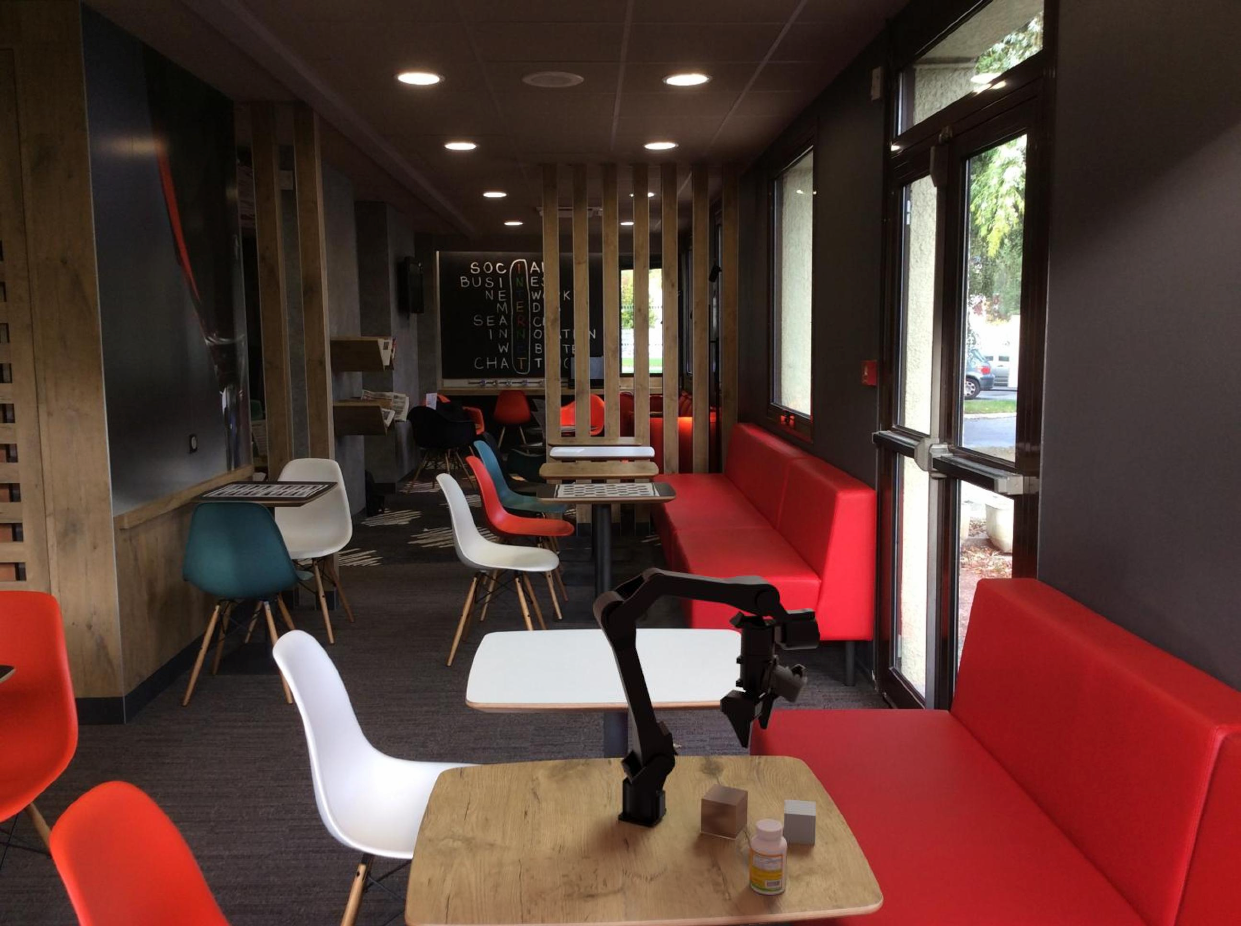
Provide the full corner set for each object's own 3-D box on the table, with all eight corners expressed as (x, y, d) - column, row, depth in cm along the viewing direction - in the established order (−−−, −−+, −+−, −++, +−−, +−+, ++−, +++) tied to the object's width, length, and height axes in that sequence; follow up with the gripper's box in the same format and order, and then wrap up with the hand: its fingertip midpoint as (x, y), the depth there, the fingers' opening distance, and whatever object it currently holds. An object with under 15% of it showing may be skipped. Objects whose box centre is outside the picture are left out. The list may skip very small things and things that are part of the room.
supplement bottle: (761, 872, 159) (763, 812, 158) (792, 884, 156) (794, 823, 154) (742, 887, 155) (744, 825, 154) (774, 899, 152) (775, 837, 150)
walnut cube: (700, 832, 172) (701, 798, 171) (713, 817, 177) (714, 783, 176) (735, 840, 169) (735, 805, 168) (747, 824, 174) (747, 790, 174)
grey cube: (783, 842, 169) (784, 812, 168) (784, 827, 173) (785, 799, 173) (814, 844, 168) (815, 815, 167) (815, 830, 173) (815, 801, 172)
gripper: (784, 674, 166) (781, 767, 168) (819, 643, 182) (816, 728, 184) (719, 663, 171) (717, 753, 173) (759, 633, 187) (756, 716, 189)
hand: (754, 737), depth 180 cm, fingers open, 9 cm apart
